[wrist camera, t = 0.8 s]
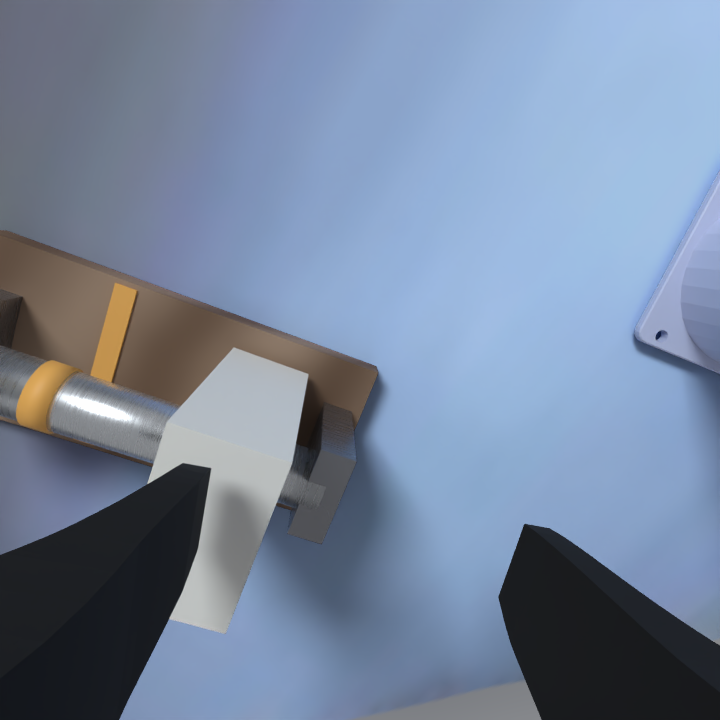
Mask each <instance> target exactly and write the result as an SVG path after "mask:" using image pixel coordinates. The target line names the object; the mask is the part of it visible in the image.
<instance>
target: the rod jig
mask: <svg viewBox="0 0 720 720" xmlns="http://www.w3.org/2000/svg"><path fill="white" fill-rule="evenodd" d="M233 348H237V349H240V350H242V351H245V352H248V353H251V354H254V355H256V356H259V357H262V358H265V359H268V360H271V361H273V362H276V363H279V364H282V365H285V366H287V367H290V368H293V369H296V370H299V371H301V372H304V373H307V374H309V375H308V380H307V385H306V391H305V396H304V402H303V407H302V413H301V418H300V423H299V429H298V434H297V440H296V445H295V451H294V456H293V461H292V465H291V467H290V470H289V472H288V475H287V478H286V480H285V483H284V485H283V488H282V490H281V493H280V496H279V498H278V501H277V503H276V506H279V507H282V508H285V509H288V510H291V513H290V520H289V526H288V533H287V534H290V535H293V536H296V537H299V538H303V539H306V540H309V541H313V542H316V543H319V544H322V542H323V540H324V538H325V535H326V533H327V531H328V528H329V526H330V524H331V521H332V519H333V516H334V514H335V512H336V509H337V507H338V505H339V502H340V500H341V498H342V495H343V493H344V491H345V488H346V486H347V483H348V481H349V479H350V476H351V474H352V472H353V469H354V467H355V465H356V462H357V459H356V449H355V439H354V430H355V428H356V425H357V423H358V421H359V418H360V416H361V413H362V411H363V409H364V406H365V404H366V401H367V399H368V397H369V394H370V392H371V389H372V387H373V385H374V382H375V380H376V377H377V375H378V370H377V367H376V366H374V365H371V364H369V363H366V362H363V361H360V360H358V359H355V358H352V357H350V356H347V355H344V354H341V353H339V352H336V351H333V350H330V349H328V348H325V347H322V346H320V345H317V344H314V343H311V342H309V341H306V340H303V339H301V338H298V337H295V336H292V335H290V334H287V333H284V332H281V331H279V330H276V329H273V328H271V327H268V326H265V325H262V324H260V323H257V322H254V321H251V320H249V319H246V318H243V317H241V316H238V315H235V314H232V313H230V312H227V311H224V310H222V309H219V308H216V307H213V306H211V305H208V304H205V303H202V302H200V301H197V300H194V299H192V298H189V297H186V296H183V295H181V294H178V293H175V292H173V291H170V290H167V289H164V288H162V287H159V286H156V285H153V284H151V283H148V282H145V281H143V280H140V279H137V278H134V277H132V276H129V275H126V274H123V273H121V272H118V271H115V270H113V269H110V268H107V267H104V266H102V265H99V264H96V263H94V262H91V261H88V260H85V259H83V258H80V257H77V256H74V255H72V254H69V253H66V252H64V251H61V250H58V249H55V248H53V247H50V246H47V245H45V244H42V243H39V242H36V241H34V240H31V239H28V238H25V237H23V236H20V235H17V234H15V233H12V232H9V231H4V230H0V420H3V421H6V422H10V423H13V424H16V425H19V426H22V427H26V428H29V429H32V430H35V431H38V432H42V433H45V434H48V435H51V436H54V437H58V438H61V439H64V440H67V441H70V442H74V443H77V444H80V445H83V446H86V447H90V448H93V449H96V450H99V451H102V452H106V453H109V454H112V455H115V456H119V457H122V458H125V459H128V460H131V461H135V462H138V463H141V464H144V465H147V466H151V467H153V464H154V461H155V458H156V455H157V452H158V449H159V445H160V442H161V439H162V436H163V433H164V430H165V426H166V423H167V421H168V420H169V419H170V418H171V417H172V416H173V414H174V413H175V412H176V411H177V410H178V409H179V408H180V407H181V406H182V404H183V403H184V402H185V401H186V400H187V399H188V398H189V397H190V396H191V394H192V393H193V392H194V391H195V390H196V389H197V388H198V387H199V386H200V384H201V383H202V382H203V381H204V380H205V379H206V378H207V377H208V376H209V374H210V373H211V372H212V371H213V370H214V369H215V368H216V367H217V366H218V364H219V363H220V362H221V361H222V360H223V359H224V358H225V357H226V355H227V354H228V353H229V352H230V351H231V350H232V349H233Z"/></svg>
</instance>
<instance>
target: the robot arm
mask: <svg viewBox="0 0 720 720" xmlns="http://www.w3.org/2000/svg"><path fill="white" fill-rule="evenodd" d="M659 331H661V333H662V334H661V337H660V338H659V339H658V340H656V338H655V337H656V334H657V333H658V332H659ZM635 337H636V338H637V339H638V340H639V341H640V342H643V343H645V344H648V345H650V346H653V347H655V348H658V349H660V350H662V351H665V352H667V353H670V354H672V355H675V356H677V357H679V358H682V359H684V360H687V361H689V362H692V363H694V364H697V365H699V366H701V367H704V368H706V369H709V370H711V371H714V372H716V373H718V374H720V170H719V172H718V174H717V176H716V178H715V180H714V182H713V184H712V185H711V187H710V189H709V191H708V193H707V195H706V197H705V198H704V200H703V202H702V204H701V206H700V208H699V210H698V212H697V213H696V215H695V217H694V219H693V221H692V223H691V225H690V226H689V228H688V230H687V232H686V234H685V236H684V238H683V240H682V241H681V243H680V245H679V247H678V249H677V251H676V253H675V254H674V256H673V258H672V260H671V262H670V264H669V266H668V268H667V269H666V271H665V273H664V275H663V277H662V279H661V281H660V282H659V284H658V286H657V288H656V290H655V292H654V294H653V296H652V297H651V299H650V301H649V303H648V305H647V307H646V309H645V310H644V312H643V314H642V316H641V318H640V320H639V322H638V324H637V325H636V328H635ZM210 474H211V468H208V467H203V466H197V465H192V464H186V463H182V464H180V465H179V466H177V467H175V468H173V469H172V470H170V471H169V472H167V473H165V474H164V475H162V476H160V477H159V478H157V479H155V480H154V481H152V482H150V483H149V484H147V485H145V486H144V487H142V488H140V489H139V490H137V491H135V492H134V493H132V494H130V495H128V496H127V497H125V498H123V499H121V500H120V501H118V502H116V503H114V504H112V505H110V506H108V507H106V508H104V509H103V510H101V511H99V512H97V513H95V514H93V515H91V516H89V517H87V518H85V519H83V520H81V521H79V522H77V523H75V524H73V525H71V526H69V527H67V528H65V529H63V530H60V531H58V532H56V533H54V534H51V535H49V536H47V537H44V538H42V539H39V540H37V541H35V542H32V543H30V544H27V545H25V546H22V547H20V548H17V549H15V550H12V551H10V552H7V553H4V554H2V555H0V720H119V719H120V717H121V714H122V712H123V710H124V708H125V706H126V704H127V701H128V699H129V697H130V695H131V693H132V691H133V689H134V687H135V685H136V683H137V681H138V679H139V677H140V675H141V673H142V672H143V670H144V668H145V666H146V664H147V662H148V660H149V658H150V656H151V654H152V652H153V650H154V648H155V646H156V644H157V642H158V640H159V638H160V636H161V634H162V632H163V630H164V628H165V626H166V624H167V622H168V620H169V618H170V616H171V614H172V612H173V610H174V608H175V606H176V604H177V602H178V600H179V598H180V596H181V594H182V591H183V589H184V586H185V583H186V581H187V578H188V575H189V573H190V570H191V567H192V564H193V562H194V559H195V556H196V553H197V550H198V546H199V540H200V534H201V528H202V522H203V516H204V510H205V504H206V498H207V492H208V486H209V480H210ZM499 602H500V606H501V610H502V614H503V618H504V622H505V625H506V629H507V632H508V636H509V639H510V643H511V645H512V648H513V650H514V653H515V656H516V658H517V661H518V663H519V665H520V668H521V670H522V673H523V675H524V678H525V680H526V683H527V685H528V688H529V690H530V692H531V695H532V697H533V700H534V702H535V704H536V707H537V709H538V711H539V714H540V717H541V719H542V720H720V645H718V644H716V643H715V642H713V641H711V640H710V639H708V638H707V637H705V636H704V635H702V634H701V633H699V632H697V631H696V630H694V629H693V628H691V627H690V626H688V625H687V624H685V623H684V622H682V621H681V620H680V619H678V618H677V617H675V616H674V615H672V614H671V613H669V612H668V611H666V610H665V609H663V608H662V607H660V606H659V605H658V604H656V603H655V602H653V601H652V600H651V599H649V598H648V597H646V596H645V595H643V594H642V593H641V592H639V591H638V590H637V589H635V588H634V587H632V586H631V585H630V584H628V583H627V582H626V581H624V580H623V579H621V578H620V577H619V576H617V575H616V574H615V573H613V572H612V571H611V570H609V569H608V568H607V567H605V566H604V565H602V564H601V563H600V562H598V561H597V560H596V559H594V558H593V557H592V556H590V555H589V554H587V553H586V552H585V551H583V550H582V549H581V548H579V547H578V546H576V545H575V544H573V543H572V542H571V541H569V540H568V539H566V538H565V537H563V536H561V535H560V534H558V533H557V532H555V531H553V530H551V529H550V528H545V527H539V526H534V525H528V524H524V527H523V529H522V532H521V535H520V538H519V541H518V543H517V546H516V549H515V552H514V555H513V558H512V560H511V563H510V566H509V569H508V572H507V575H506V577H505V580H504V583H503V586H502V589H501V591H500V594H499Z"/></svg>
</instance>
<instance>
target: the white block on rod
mask: <svg viewBox="0 0 720 720" xmlns="http://www.w3.org/2000/svg"><path fill="white" fill-rule="evenodd" d="M308 375H309V374H307V373H304V372H301V371H299V370H296V369H293V368H290V367H287V366H285V365H282V364H279V363H276V362H273V361H271V360H268V359H265V358H262V357H259V356H256V355H254V354H251V353H248V352H245V351H242V350H240V349H237V348H233V349H232V350H231V351H230V352H229V353H228V354H227V355H226V357H225V358H224V359H223V360H222V361H221V362H220V363H219V364H218V366H217V367H216V368H215V369H214V370H213V371H212V372H211V373H210V374H209V376H208V377H207V378H206V379H205V380H204V381H203V382H202V383H201V384H200V386H199V387H198V388H197V389H196V390H195V391H194V392H193V393H192V394H191V396H190V397H189V398H188V399H187V400H186V401H185V402H184V403H183V404H182V406H181V407H180V408H179V409H178V410H177V411H176V412H175V413H174V414H173V416H172V417H171V418H170V419H169V420H168V421H167V423H166V426H165V430H164V433H163V436H162V439H161V442H160V445H159V449H158V452H157V455H156V458H155V461H154V464H153V468H152V471H151V474H150V477H149V480H148V483H147V484H149V483H150V482H152V481H154V480H155V479H157V478H159V477H160V476H162V475H164V474H165V473H167V472H169V471H170V470H172V469H173V468H175V467H177V466H179V465H180V464H182V463H186V464H192V465H197V466H203V467H208V468H211V474H210V480H209V486H208V492H207V498H206V504H205V510H204V516H203V522H202V528H201V534H200V540H199V546H198V550H197V553H196V556H195V559H194V562H193V564H192V567H191V570H190V573H189V575H188V578H187V581H186V583H185V586H184V589H183V591H182V594H181V596H180V598H179V600H178V602H177V604H176V606H175V608H174V610H173V612H172V614H171V616H170V618H169V619H171V620H175V621H179V622H182V623H186V624H190V625H194V626H197V627H201V628H205V629H209V630H212V631H216V632H220V633H223V634H226V632H227V629H228V626H229V624H230V621H231V619H232V616H233V614H234V611H235V608H236V606H237V603H238V601H239V598H240V596H241V593H242V590H243V588H244V585H245V583H246V580H247V578H248V575H249V573H250V570H251V567H252V565H253V562H254V560H255V557H256V555H257V552H258V549H259V547H260V544H261V542H262V539H263V537H264V534H265V531H266V529H267V526H268V524H269V521H270V519H271V516H272V513H273V511H274V508H275V506H276V503H277V501H278V498H279V496H280V493H281V490H282V488H283V485H284V483H285V480H286V478H287V475H288V472H289V470H290V467H291V465H292V461H293V456H294V451H295V445H296V440H297V434H298V429H299V423H300V418H301V413H302V407H303V402H304V396H305V391H306V385H307V380H308Z"/></svg>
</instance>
